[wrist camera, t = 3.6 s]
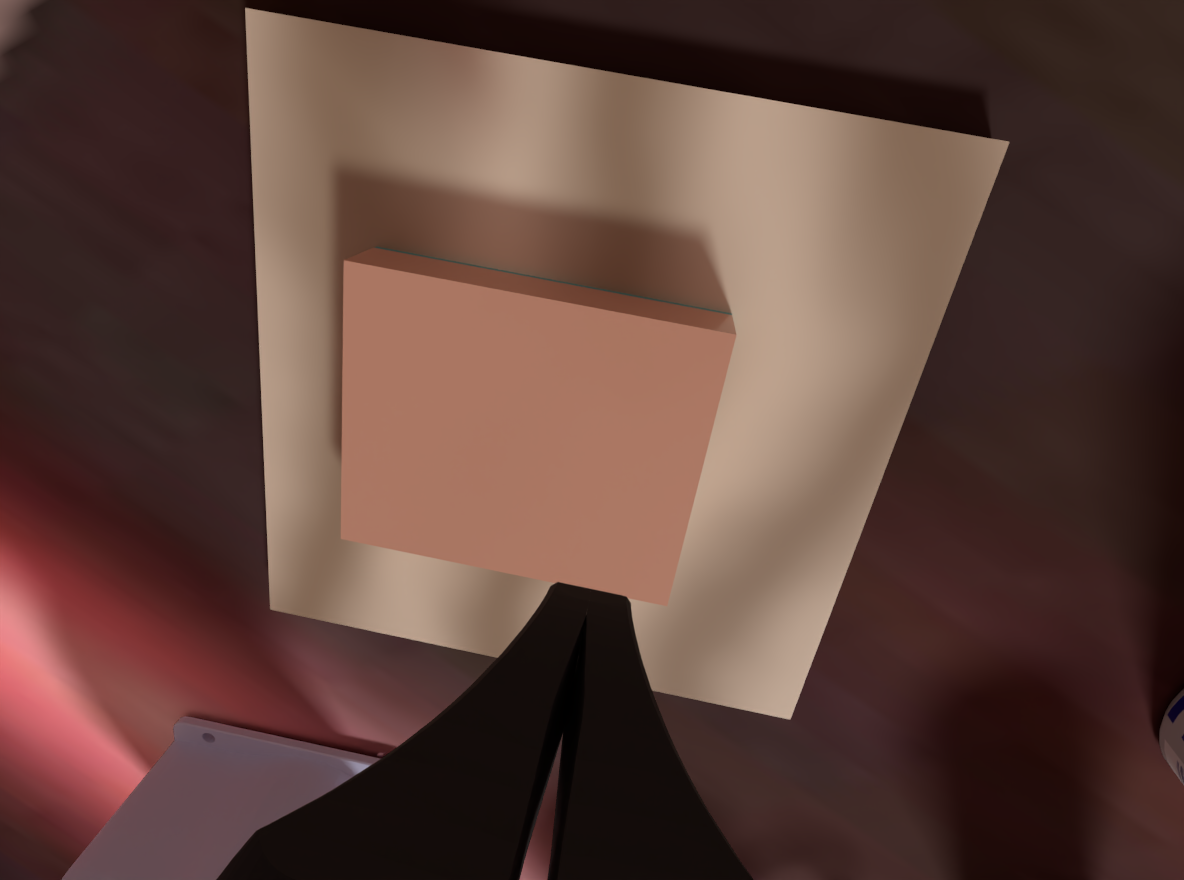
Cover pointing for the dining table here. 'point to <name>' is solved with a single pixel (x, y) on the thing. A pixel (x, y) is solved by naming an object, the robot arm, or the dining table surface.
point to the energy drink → (1174, 735)
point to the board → (618, 263)
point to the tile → (524, 420)
